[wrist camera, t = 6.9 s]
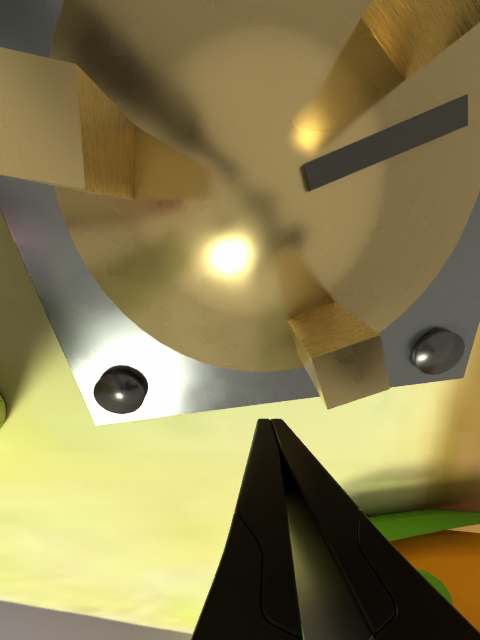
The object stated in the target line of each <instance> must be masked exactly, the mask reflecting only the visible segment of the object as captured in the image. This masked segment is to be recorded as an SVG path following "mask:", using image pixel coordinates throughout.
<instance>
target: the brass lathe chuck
mask: <svg viewBox="0 0 480 640" xmlns="http://www.w3.org/2000/svg"><path fill="white" fill-rule="evenodd" d="M0 175H2V176H7V177H12V178H17V179H22V180H27V181H32V182H37V183H42V184H47V185H52V186H54V190H55V193H56V197H57V200H58V203H59V207H60V210H61V214H62V217H63V219H64V221H65V224H66V226H67V229H68V231H69V233H70V236H71V238H72V241H73V243H74V245H75V247H76V249H77V250H78V252H79V254H80V256H81V258H82V259H83V261H84V263H85V265H86V267H87V268H88V270H89V272H90V273H91V274H92V276H93V277H94V279H95V280H96V281H97V283H98V284H99V286H100V287H101V288H102V290H103V291H104V293H105V294H106V295H107V296H108V297H109V298H110V299H111V301H112V302H113V303H114V304H115V305H116V306H117V307H118V308H119V309H120V311H121V312H122V313H123V314H124V315H126V316H127V317H128V318H129V319H130V320H131V321H132V322H133V323H135V324H136V325H137V326H138V327H139V328H140V329H141V330H143V331H144V332H146V333H147V334H149V335H150V336H151V337H153V338H154V339H156V340H157V341H159V342H160V343H162V344H163V345H165V346H167V347H169V348H171V349H173V350H174V351H176V352H178V353H180V354H182V355H185V356H187V357H190V358H192V359H195V360H197V361H200V362H203V363H206V364H210V365H213V366H217V367H221V368H226V369H232V370H239V371H251V372H271V371H285V370H291V369H296V368H302V367H305V369H306V371H307V372H308V374H309V376H310V378H311V380H312V382H313V384H314V385H315V387H316V389H317V391H318V393H319V395H320V396H321V398H322V400H323V402H324V404H325V406H326V408H327V409H331V408H334V407H337V406H340V405H343V404H346V403H349V402H352V401H355V400H358V399H361V398H364V397H367V396H370V395H373V394H376V393H379V392H382V391H385V390H388V389H390V386H389V380H388V375H387V369H386V363H385V357H384V352H383V346H382V340H381V335H380V334H379V332H381V331H382V330H384V329H385V328H386V327H388V326H389V325H390V324H391V323H392V322H393V321H395V320H396V319H397V318H398V317H399V316H401V315H402V314H403V313H404V312H405V311H406V310H407V309H408V308H409V307H410V306H411V305H412V304H413V303H414V302H415V301H416V300H417V299H418V298H419V297H420V296H421V295H422V293H423V292H424V291H425V290H426V288H427V287H428V286H429V285H430V283H431V282H432V281H433V280H434V278H435V277H436V276H437V275H438V273H439V271H440V270H441V268H442V267H443V265H444V264H445V262H446V261H447V259H448V258H449V256H450V255H451V253H452V252H453V250H454V248H455V246H456V244H457V242H458V240H459V238H460V236H461V234H462V233H463V231H464V229H465V227H466V225H467V222H468V220H469V217H470V215H471V212H472V210H473V207H474V205H475V202H476V200H477V197H478V194H479V191H480V0H65V1H64V4H63V7H62V10H61V13H60V16H59V19H58V22H57V25H56V28H55V32H54V37H53V42H52V47H51V53H50V58H47V57H42V56H38V55H33V54H29V53H24V52H20V51H16V50H11V49H7V48H2V47H0Z"/></svg>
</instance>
